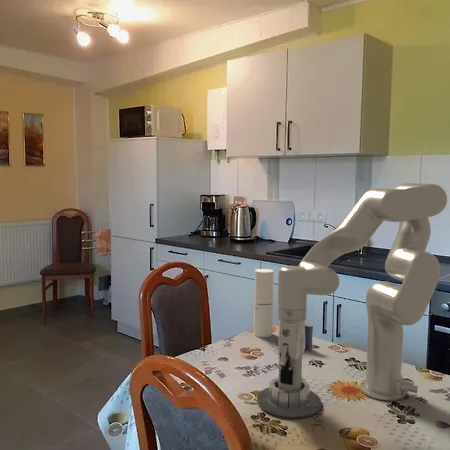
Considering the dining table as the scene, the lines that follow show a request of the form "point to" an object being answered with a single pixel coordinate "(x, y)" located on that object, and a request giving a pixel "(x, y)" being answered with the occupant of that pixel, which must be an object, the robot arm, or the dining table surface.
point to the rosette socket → (289, 401)
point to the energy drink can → (296, 374)
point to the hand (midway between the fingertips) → (290, 378)
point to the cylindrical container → (263, 302)
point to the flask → (308, 337)
